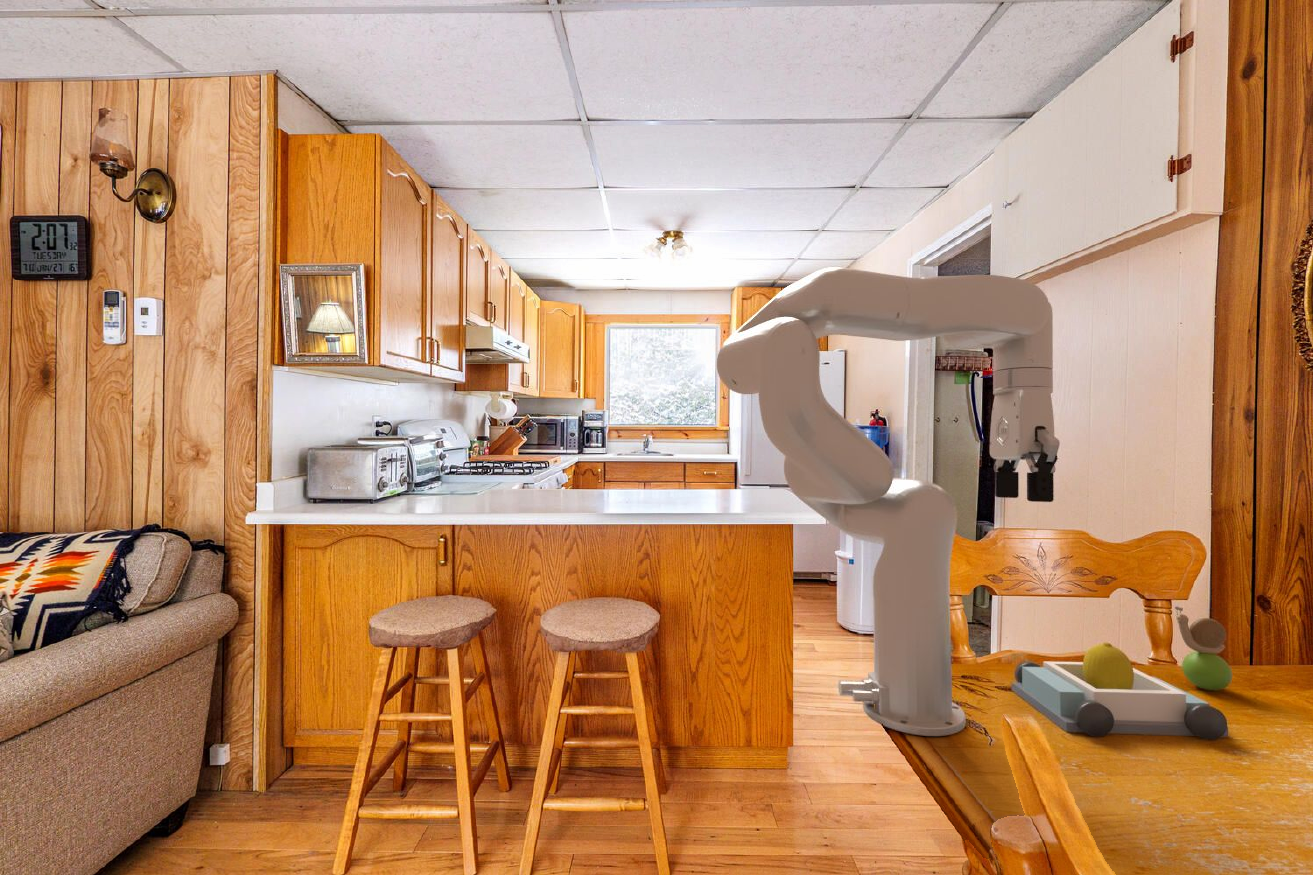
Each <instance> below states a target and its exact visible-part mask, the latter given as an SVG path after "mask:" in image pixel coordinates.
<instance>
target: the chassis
mask: <svg viewBox="0 0 1313 875" xmlns="http://www.w3.org/2000/svg"><path fill="white" fill-rule="evenodd" d="M1132 668H1133V672H1134V683H1133V687H1132V690H1125V689H1096V688H1094V687H1093V686H1091V685H1089V684H1088V683H1086V681H1085V679H1084V675H1083V661H1049V660H1048V661H1043V662H1042V666H1041V665H1039V663H1038V664H1037V663H1036V662H1034V661H1031V660H1025V661H1022V662H1020V663H1019V664H1018V665H1017V666H1016V668H1015V670H1014V679H1015V680H1016V682H1014V681H1012V682H1011V691H1012V692H1013V693H1014V694H1016V695H1017V696H1018V697H1020V698H1021V699H1022V700H1024V702H1026V703H1028V704H1029V705H1030V706H1032V707H1033V708H1034V709H1035V710H1037V711H1038V712H1039V713H1041V714H1042V715H1043V716H1045V717H1046V718H1047V719H1049V720H1050V721H1051V722H1053V723H1054V724H1055V725H1057V727H1059V728H1061V730H1063V731H1064V732H1066V733H1084V734H1085V733H1086V734H1088V735H1089V736H1091V737H1094V738H1095V737H1096V738H1102V737H1104V736H1105V737H1106V735H1108V734H1120V735H1121V734H1123V735H1124V734H1125V735H1157V736H1160V735H1161V736H1184V737H1185V736H1186V737H1187V736H1193V737H1199V738H1201V739H1203V740H1206V741H1216V740H1219V739H1220V738H1222V737H1223V738H1224V737H1225V738H1226V737H1227V738H1230V737H1229V735H1230V734H1229V726H1228V720H1227V718H1226V716H1225V715H1224V713H1223V712H1222V711H1221V710H1219V709H1218V708H1216V707H1214V706H1211V705H1210V703H1209V702H1207V701H1206V700H1204V699H1201V698H1199V697H1197V696H1195V695H1193V694H1191V693H1189V692H1186V691H1184V690H1182V689H1180V688H1179V687H1176V686H1174V685H1172V684H1170V683H1168V682H1166V681H1164V680H1162V679H1160V678H1158V677H1156V676H1150V675H1148V674H1147V673H1145V672H1142V671H1140V670H1138V669H1136V668H1134V667H1133V666H1132Z"/></svg>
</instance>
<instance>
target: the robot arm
mask: <svg viewBox="0 0 1313 875" xmlns="http://www.w3.org/2000/svg"><path fill="white" fill-rule="evenodd" d="M1053 315H1054V314H1053V306H1052V304H1051V303H1050V301H1049V299H1048V297H1047V295H1046V293H1045V292H1044V291H1043V290H1042V289H1041V288H1040V287H1039V285H1036V284H1034V283H1033V282H1031V281H1029V280H1025V279H1021V278H1016V277H1012V276H1005V275H999V274H997V275H995V274H966V275H965V274H963V275H943V276H941V275H940V276H935V275H934V276H923V277H921V276H920V277H908V276H902V275H901V276H899V275H896V274H895V275H893V274H886V273H881V272H876V271H868V270H867V271H866V270H861V269H855V268H848V267H839V266H838V267H837V266H835V267H827V268H823V269H820V270H817V271H815V272H813V273H811V274H810V275H807V276H804V277H803V278H802V279H800V280H798V281H796V282H794V283H792V284H790V285H788V286H787V287H785V288H783V289H782V290H781V291H780V292H778V293H777V294H776V295H775V296H774V297H773V298H772V299H771V300H769V301H768V302H767V303H766V304H765V305H764V306H762V308H760V309H759V311H757V312H756V313H755V314H754V315H753V316H752V317H750V318H749V319H748V320H747V321H746V322H745V323H744V324H743V325H741V326H740V327H739V328H738V329H737V330H736V331H735V332H733V333H732V334H731V335H730V336H729V337H728V338H727V339H726V340H725V341H724V342H723V344H722V345H721V346H720V349H719V351H718V353H717V358H716V371H717V374H718V377H719V379H720V381H721V382H722V383H723V385H724V386H725V387H726V388H728V389H729V390H731V391H732V392H733V393H736V394H742V395H756V394H758V404H759V410H760V416H761V422H762V426H763V429H764V432H765V434H766V436H767V438H768V439H769V440H770V442H771V444H772V445H773V446H774V447H775V448H776V449H777V450H778V451H779V452H780V453H781V454H782V455H784V456H785V457H784V462H783V474H784V477H785V478H784V479H785V480H786V482H787V486H788V488H790V489H791V491H792V493H793V494H794V495H795V497H797V498H798V500H800V501H802V502H803V503H804V504H806V505H807V506H808V507H809V508H810V509H812V510H813V511H814V512H816V513H817V514H818V515H819V516H821V517H822V518H823V519H825V520H826V521H828V522H829V523H830V524H831V525H833V526H834V527H836V528H837V529H838V530H840V532H841V531H842V532H843V533H845V534H846V535H848V536H849V537H851V538H854V539H856V540H859V541H864V542H866V543H873V544H877V545H882V546H883V548H882V551H881V553H880V555H879V558H878V559H877V562H876V564H875V565H876V566H875V567H874V571H873V576H872V604H873V605H872V606H873V607H872V610H873V611H872V612H873V614H872V615H873V617H872V618H873V661H874V662H873V666H874V667H873V672H871V671H870V672H867V678H861V681H853V680H838V693H839V695H840V696H843V697H844V696H847V697H849V696H850V697H852V700H853V701H852V702H862V709H863V712H865V714H866V715H867V717H869V718H870V719H871V720H872V721H874V722H876V723H877V724H879V725H880V726H884V727H886V728H888V729H891V730H894V731H896V732H897V731H898V732H901V733H905V734H910V735H915V736H925V737H942V736H943V737H945V736H950V735H954V734H957V733H959V732H960V731H962V730H964V728H965V727H966V723H967V722H966V721H967V720H966V719H967V716H966V713H965V712H964V710H963V709H962V707H960V706H959V705H958V704H956V703H955V702H953V693H952V692H953V690H952V689H953V686H952V684H953V682H952V645H951V644H952V641H951V640H952V638H951V598H950V596H951V595H950V594H951V593H950V590H951V589H950V584H951V583H950V582H951V581H950V579H951V578H950V576H951V575H950V573H951V560H952V559H951V558H952V552H953V551H952V550H953V546H954V540H955V536H956V531H957V525H958V523H957V522H958V513H957V507H956V504H955V502H954V500H953V498H952V497H951V495H950V494H949V493H948V492H947V491H946V490H945V489H944V488H942V487H941V486H940V485H938V484H936V483H934V482H930V481H928V480H924V479H917V478H907V477H906V478H904V477H903V478H902V477H901V478H900V477H894V476H895V474H894V468H893V465H892V462H891V460H890V458H889V456H888V455H887V453H886V452H885V451H884V450H883V449H882V448H881V447H880V446H879V445H878V444H876V442H874V441H873V440H872V439H870V438H869V437H868V436H866V434H864V433H863V432H862V431H861V430H859V429H858V428H857V427H856V426H854V425H853V424H852V423H851V422H850V421H848V420H847V419H846V418H845V417H844V416H842V414H841V413H839V412H838V411H837V410H836V409H835V408H834V407H833V406H832V405H831V404H830V403H829V401H827V399H826V397H825V395H824V392H823V390H822V386H821V375H820V361H821V357H820V356H821V355H820V353H821V352H820V347H819V342H818V339H821V338H824V337H827V336H832V335H833V336H834V335H835V336H839V335H840V336H850V337H861V338H869V339H880V340H886V341H888V340H889V341H897V342H899V341H900V342H903V341H904V342H905V341H917V340H925V339H931V338H937V337H942V339H943V340H944V341H945V342H946V343H947V344H949V345H950V346H952V347H955V348H957V349H961V350H978V349H992V351H993V352H992V358H993V359H992V360H993V361H992V378H993V379H992V380H993V381H992V385H993V386H992V390H993V391H992V394H993V396H994V399H993V403H992V410H991V418H990V419H991V420H990V432H989V455H990V457H991V458H992V460H993V463H994V464H993V470H994V490H995V491H994V495H995V497H996V498H1002V499H1003V498H1004V499H1005V498H1006V499H1010V498H1011V499H1017V498H1019V489H1020V488H1019V479H1020V478H1019V472H1018V471H1016V470H1017V469H1018V466H1019V464H1020V461H1024V460H1025V461H1026V464H1027V467H1028V469H1029V471H1030V472H1026V499H1027V501H1028V502H1034V503H1035V502H1038V503H1040V502H1041V503H1042V502H1043V503H1053V501H1054V500H1055V499H1054V496H1055V495H1054V493H1055V492H1054V474H1055V472H1056V466H1055V465H1056V462H1057V461H1058V451H1059V448H1060V444H1061V443H1060V440H1059V439H1058V438H1057V437H1056V436H1055V419H1054V407H1053V399H1052V395H1051V394H1052V393H1053V392H1054V378H1053V377H1054V371H1053V368H1054V363H1053V362H1054V361H1053V360H1054V359H1053V356H1054V355H1053V354H1054V349H1053V342H1054V340H1053V336H1054V334H1053V333H1054V331H1053V328H1054V327H1053V326H1054V325H1053V324H1054V323H1053V321H1054V320H1053ZM874 704H875V708H874ZM882 724H883V725H882Z"/></svg>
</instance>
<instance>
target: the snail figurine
mask: <svg viewBox="0 0 1313 875" xmlns="http://www.w3.org/2000/svg"><path fill="white" fill-rule="evenodd" d="M1174 609H1175V610H1176V611H1179V614H1178V612H1176V615H1177V616H1176V621H1177V623H1178V629H1179V632H1180V634H1181V637H1182V639H1183V641H1184V643H1185V645H1186V646H1187V647H1188V648H1189V649H1191V650H1193V651H1192V652H1190V653H1189V654H1187V655H1186V656H1185V657H1184V658H1183V660H1182V663H1181V667H1182V668H1181V670H1182V672H1183V674H1184V676H1185V677H1186V679H1187V680H1188V681H1189V682H1191V684H1193V685H1194V686H1196V687H1198V688H1200V689H1204V690H1205V691H1221V690H1224V689H1225V688H1227V687H1228V686H1230V684H1231V683H1232V680H1233V672H1232V671H1233V670H1232V669H1231V667H1230V665H1229V663H1228V661H1227V662H1226V660H1225V659H1224V658H1222V657H1221V656H1219V655H1218V654H1220V653H1221V652H1222V651H1223V650H1224V649H1225V648H1226V646H1225V644H1224V643H1225V641H1226V639H1227V631H1226V629H1225V627H1224V626H1223V625H1222V624H1221V623H1220V622H1219V621H1218V620H1215V619H1214V618H1213V619H1212V618H1207V617H1203V618H1198V619H1196V620H1194V621H1193V622H1192V623H1191V625H1190V626H1189V617H1188V616H1187V615H1185V614H1184V613H1183V614H1182V611H1183V610H1184V609H1183V607H1181V606H1178V605H1176V606H1174Z"/></svg>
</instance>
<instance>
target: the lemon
mask: <svg viewBox="0 0 1313 875" xmlns="http://www.w3.org/2000/svg"><path fill="white" fill-rule="evenodd" d="M1082 660H1083V661H1082V662H1083V675H1084V679H1085V681H1086V683H1088V684H1089V685H1091V686H1093V687H1094V688H1096V689H1125V690H1132V687H1133V683H1134V672H1133V668H1134V667H1133V666H1132V662H1131V661H1130V659H1129V657H1128V656H1127V654H1126V653H1125V652H1123V650H1121V649H1119V648H1117V647H1116V646H1114V645H1112V644H1111V643H1110V642H1107V641H1106V642H1103V643H1101V644H1096V645H1093V646H1092V647H1090V648H1089V649H1087V651H1086V653H1085V654H1084V657H1083V659H1082ZM1132 667H1133V668H1132Z"/></svg>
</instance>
